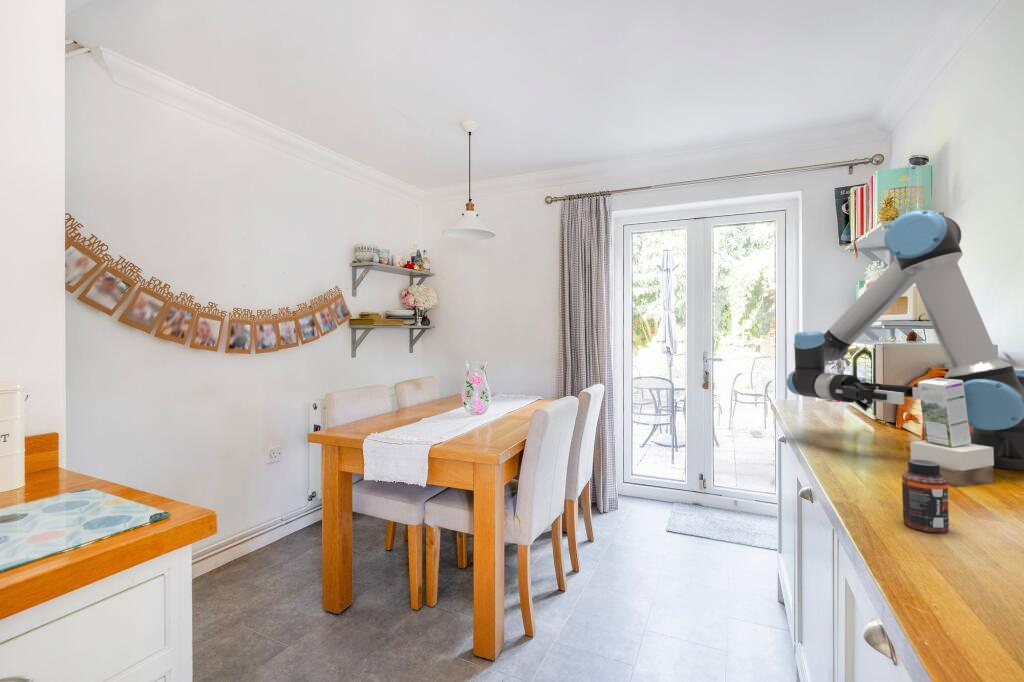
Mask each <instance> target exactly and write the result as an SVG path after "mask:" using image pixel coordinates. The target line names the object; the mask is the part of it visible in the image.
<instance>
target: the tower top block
mask: <svg viewBox="0 0 1024 682" xmlns="http://www.w3.org/2000/svg"><path fill="white" fill-rule="evenodd" d="M909 445H910V459H911V460H927V461H933V462H936V463H938V464H939V466H943V467H948V468H952V469H957V470H961V471H964V470H970V469H976V468H982V467H988V466H994V451H993V447H988V446H982V445H976V444H971V443H968V444H965V445H961V446H956V447H948V446H944V445H939V444H934V443H929V442H926V439H924V440H919V441H911V442H910V444H909Z"/></svg>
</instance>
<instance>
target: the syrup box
mask: <svg viewBox="0 0 1024 682" xmlns="http://www.w3.org/2000/svg"><path fill="white" fill-rule="evenodd" d="M917 382H918V383H917V386H918V387H919V394H920V399H919V401H920V406H921V407H920V408H921V413H922V414H921V416H922V422H923V429H924V430H923V431H924V438H925V439H924V440H926V442H929V443H934V444H939V445H944V446H948V447H956V446H961V445H965V444H968V443H971V437H970V433H971V430H970V426H969V424H968V416H967V408H966V400H965V392H964V384H963V380H953V379H945V378H940V377H939V378H938V377H937V378H936V377H935V378H928V379H923V380H920V381H917Z"/></svg>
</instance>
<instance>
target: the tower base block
mask: <svg viewBox="0 0 1024 682" xmlns="http://www.w3.org/2000/svg"><path fill="white" fill-rule="evenodd" d="M909 460H911V458H907V471H909V470H910V468H909V467H908V466H909ZM939 468H940V471H939V473H940V474H941V475H942V476H943V477H944V478H945V479H946V480H947V483H948V485H949V487H952V488H960V487H967V486H966V485H972V486H981V484H983V485H990V484H991V485H992V484H994V483H995V482H994V480H995V479H994V478H995V477H994V467H990V466H988V467H982V468H976V469H970V470H964V471H961V470H957V469H952V468H948V467H943V466H939ZM959 486H960V487H959Z"/></svg>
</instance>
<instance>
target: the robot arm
mask: <svg viewBox="0 0 1024 682" xmlns="http://www.w3.org/2000/svg"><path fill="white" fill-rule="evenodd" d="M883 237H884V238H883V240H884V245H885V248H886V249H887V251H888V252H889V253H890V254H891V255H893V262H891V264H889V266H888V267H887V268H886V269H885V270H884V271H883V272H882V273H881V274H880V275H879V276H878V278H876V279H875V280H874V281H873V282H872V283H871V285H869V287H868V288H867V289H865V291H864V292H863V293H861V295H860V296H859V297H858V298H857V299H855V301H854V302H853V303H852V304H851V305H850V306H849V307H848V309H846V311H845V312H844V313H842V315H840V317H839V318H838V319H837V320H836V321H835V322H834V323H833V324H832V325H831V326H830V327H829V329H828V330H827V331H826V332H825V333H824V332H822V331H801V332H800V331H798V332H796V333H795V334H794V343H793V347H794V370H793V371H791V372H789V374H788V376H787V379H786V386H787V388H788V391H790V392H791V393H793V394H794V395H799V396H802V397H809V398H815V399H823V400H827V401H828V402H829V403H830V402H831V403H832V402H833V401H836V402H837V401H838V402H843V403H848V404H849V403H855V402H856V401H861V402H863V401H865V400H866V404H874V402H878V403H879V402H880V403H885V404H886V403H887V404H895V405H900V406H903V405H905V397H906V398H912V399H917V400H920V394H919V387H918V383H916V384H915V383H914V384H913V385H900V384H899V385H897V384H885V383H884V384H882V383H878V382H877V383H875V382H874V383H873V382H872V383H871V382H867V381H861V380H860V379H859V378H858V377H857V375H853V374H842V373H834V372H826V371H825V370H826V362H835V361H838V360H841V359H842V358H845V356H846V355H847V353H848V351H849V348H850V347H851V346H852V345H853V344H854V343H855V342H856V341H857V340H858V339H859V338H860V337H861V336H862V335H863V334H864V333H865V332H866V331H867V330H868V329H869V328H870V327H872V326H873V324H875V322H876V321H877V320H878V319H880V318H881V317H882V315H884V314H885V312H886V311H888V310H889V309H890V308H891V307H892V306H893V305H894V304H895V303H896V302H897V301H898V300H899V299H900V298H901V297H902V296H903V295H904V294H906V292H908V290H909V289H911V287H912V286H914V284H915V286H916V289H917V291H918V293H919V297H920V299H921V300H922V301H921V302H922V303H923V306H924V308H925V310H926V313H927V316H928V318H929V320H930V323H931V325H932V327H933V330H934V333H935V335H936V338H937V340H938V342H939V345H940V347H941V349H942V352H943V355H944V357H945V359H946V362H947V364H948V367H949V368H948V369H949V370H948V371H947V372H946V374H945V375H944V379H953V380H963V384H964V392H965V400H966V408H967V416H968V424H969V427H971V430H970V437H971V444H976V445H982V446H988V447H993V451H994V466H990V467H993V468H996V469H1005V470H1012V471H1013V470H1014V471H1024V369H1023V370H1020V369H1014V367H1013V364H1012V363H1009V362H1006V361H1004V360H1002V359H1001V358H999V355H998V353H997V351H996V348H995V346H994V344H993V341H992V339H991V337H990V335H989V334H990V333H989V332H988V330H987V328H986V326H985V323H984V321H983V318H982V317H981V313H980V312H979V309H978V307H977V305H976V303H975V300H974V298H973V296H972V294H971V292H970V291H971V290H970V288H969V287H968V284H967V281H966V280H965V277H964V275H963V273H962V270H961V268H960V265H959V261H960V260H961V258H962V256H963V251H962V248H961V247H960V243H961V240H962V229H961V227H960V224H958V223H957V222H956V221H955V220H953V219H952V218H950V217H947V216H944V215H942V214H940V213H938V212H936V211H934V210H927V209H923V210H912V211H908V212H905V213H903V214H901V215H899V216H898V217H896V218H895V219H894V220H893V221H892V222H891V223H890V224H889V225H888V227H887V228H886V230H885V233H884V236H883Z"/></svg>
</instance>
